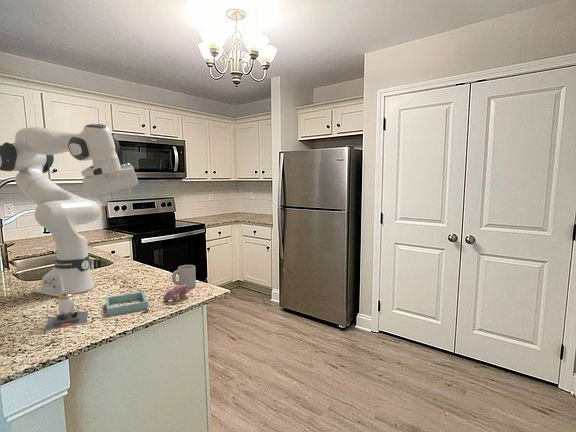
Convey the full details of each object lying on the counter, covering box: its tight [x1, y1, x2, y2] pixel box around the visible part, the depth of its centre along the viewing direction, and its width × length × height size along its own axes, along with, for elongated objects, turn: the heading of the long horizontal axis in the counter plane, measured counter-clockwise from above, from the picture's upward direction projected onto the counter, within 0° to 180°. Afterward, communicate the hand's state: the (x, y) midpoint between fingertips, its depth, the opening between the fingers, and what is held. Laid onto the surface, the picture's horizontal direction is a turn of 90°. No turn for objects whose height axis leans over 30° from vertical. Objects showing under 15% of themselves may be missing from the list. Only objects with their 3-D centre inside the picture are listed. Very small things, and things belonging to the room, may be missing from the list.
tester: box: [43, 310, 89, 332], centre depth 103 cm, size 11×11×3 cm
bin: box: [105, 291, 149, 317], centre depth 115 cm, size 13×13×4 cm
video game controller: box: [162, 284, 191, 302], centre depth 126 cm, size 10×5×7 cm, turn 148°
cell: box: [57, 293, 75, 321], centre depth 103 cm, size 4×4×9 cm
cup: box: [171, 264, 197, 289], centre depth 140 cm, size 7×10×9 cm
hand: (117, 201), depth 126 cm, fingers open, 8 cm apart
